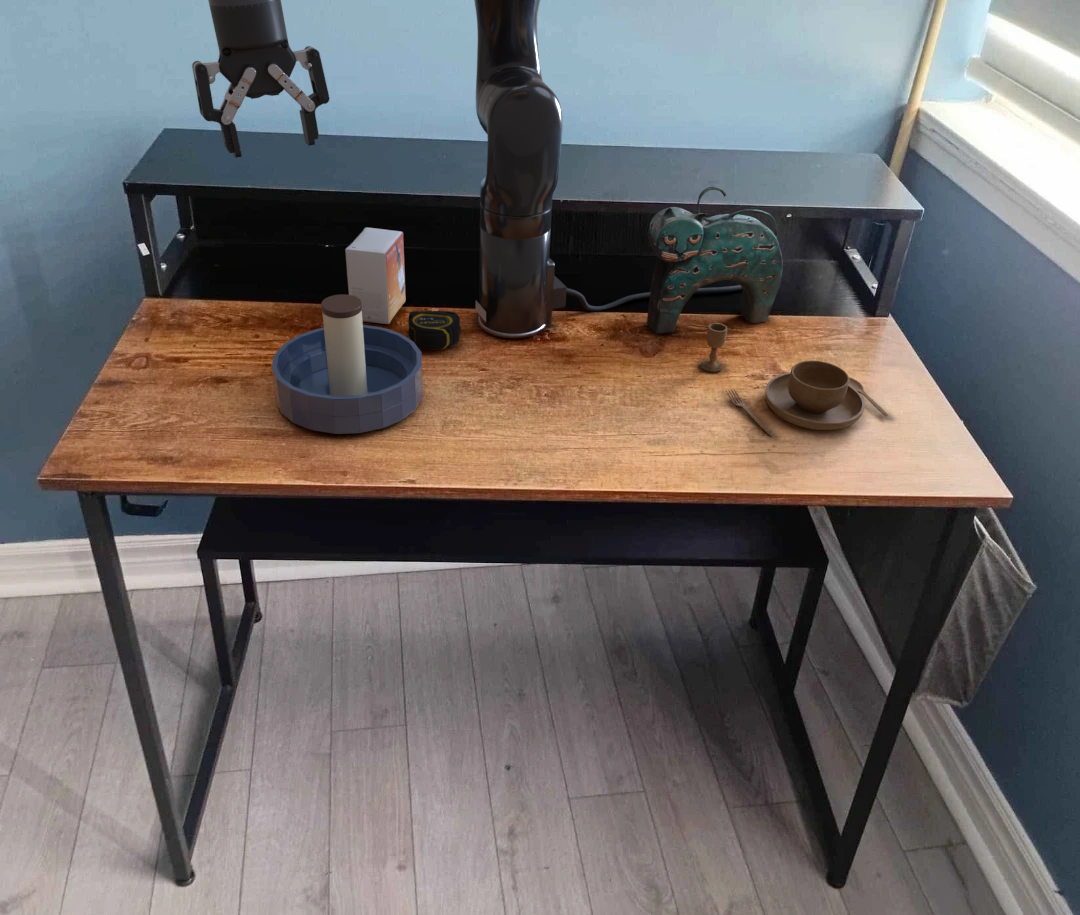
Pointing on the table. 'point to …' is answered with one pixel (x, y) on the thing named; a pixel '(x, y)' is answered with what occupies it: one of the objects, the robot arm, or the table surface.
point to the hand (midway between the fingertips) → (274, 149)
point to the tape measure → (434, 329)
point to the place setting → (803, 391)
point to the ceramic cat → (711, 261)
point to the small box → (377, 273)
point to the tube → (344, 345)
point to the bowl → (384, 404)
